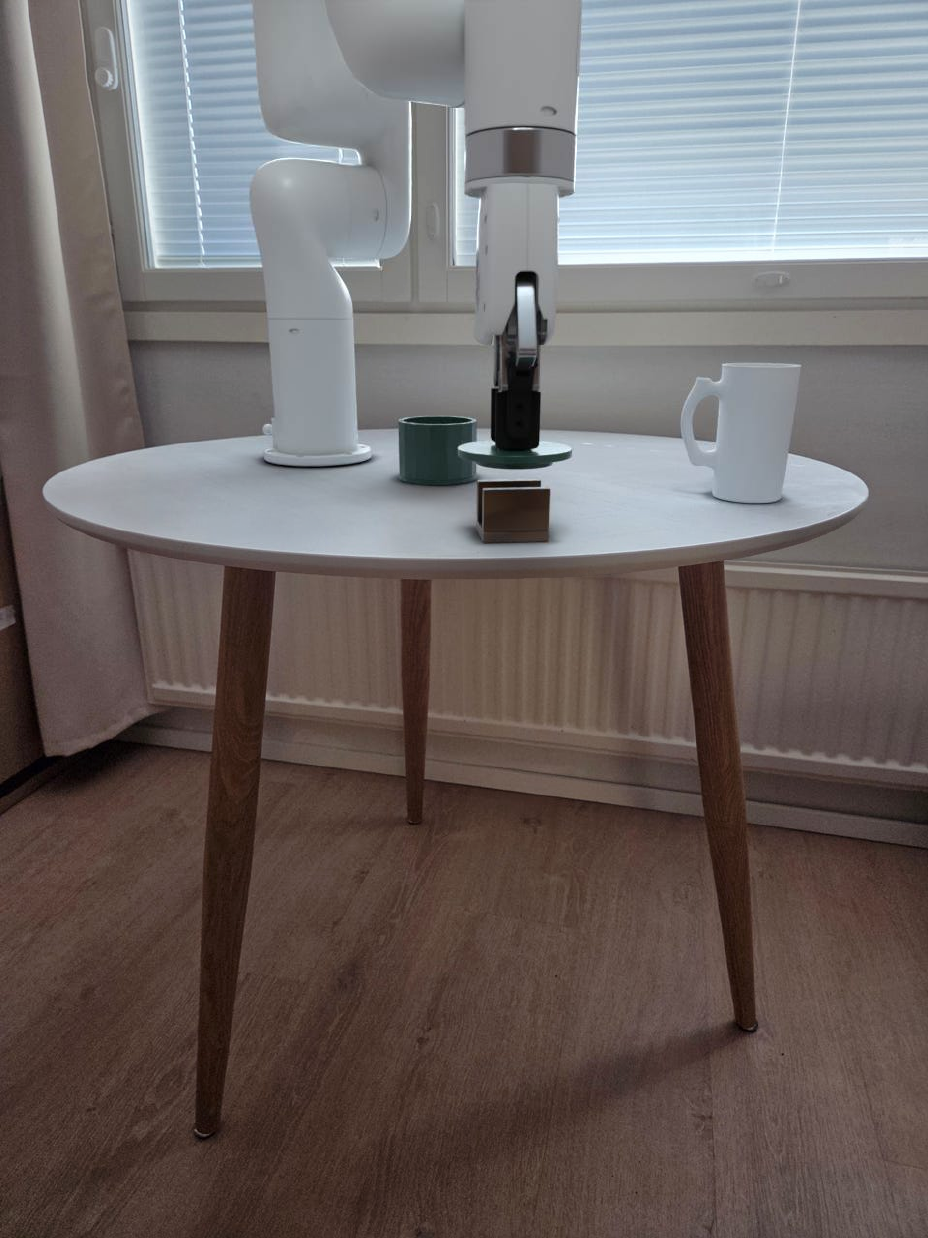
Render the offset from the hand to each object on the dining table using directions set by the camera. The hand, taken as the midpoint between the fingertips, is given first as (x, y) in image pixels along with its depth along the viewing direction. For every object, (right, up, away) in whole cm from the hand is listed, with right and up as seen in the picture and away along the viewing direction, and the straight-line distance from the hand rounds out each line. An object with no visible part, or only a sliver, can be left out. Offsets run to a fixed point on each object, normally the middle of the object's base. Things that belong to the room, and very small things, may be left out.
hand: (514, 442), depth 63 cm
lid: (0, -1, 0) cm, 1 cm away
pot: (-6, +2, +25) cm, 26 cm away
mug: (+21, -2, +17) cm, 27 cm away
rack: (0, -7, +3) cm, 7 cm away
